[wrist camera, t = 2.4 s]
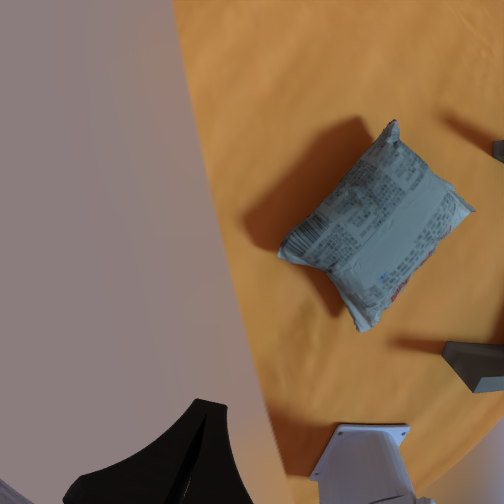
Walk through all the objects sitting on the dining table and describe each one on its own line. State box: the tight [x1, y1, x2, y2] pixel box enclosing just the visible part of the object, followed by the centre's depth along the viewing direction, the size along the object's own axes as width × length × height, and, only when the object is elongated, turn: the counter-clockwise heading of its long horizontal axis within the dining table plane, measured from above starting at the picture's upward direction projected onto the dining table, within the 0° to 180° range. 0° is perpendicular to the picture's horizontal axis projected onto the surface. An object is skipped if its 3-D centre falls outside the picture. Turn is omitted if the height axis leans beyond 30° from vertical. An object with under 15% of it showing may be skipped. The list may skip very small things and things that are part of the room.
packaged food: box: [277, 119, 476, 333], centre depth 17 cm, size 9×12×5 cm
